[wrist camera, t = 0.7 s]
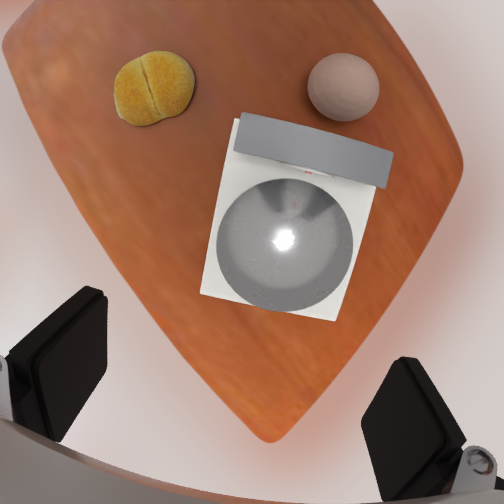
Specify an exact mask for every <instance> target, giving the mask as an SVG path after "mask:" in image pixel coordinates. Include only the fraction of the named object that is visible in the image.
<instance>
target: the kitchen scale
mask: <svg viewBox="0 0 504 504" xmlns="http://www.w3.org/2000/svg"><path fill="white" fill-rule="evenodd" d="M393 154H394V152H391V151H388V150H385V149H382V148H379V147H376V146H373V145H370V144H367V143H363V142H360V141H357V140H354V139H350V138H347V137H344V136H340V135H337V134H333V133H330V132H326V131H322V130H319V129H315V128H311V127H307V126H303V125H299V124H295V123H291V122H287V121H282V120H278V119H274V118H269V117H264V116H260V115H255V114H250V113H245V112H242V113H241V117H240V119H236V118H235V119H234V123H233V128H232V132H231V137H230V141H229V146H228V150H227V155H226V159H225V164H224V169H223V174H222V178H221V183H220V188H219V193H218V198H217V203H216V208H215V213H214V218H213V223H212V229H211V234H210V239H209V245H208V250H207V256H206V261H205V267H204V272H203V278H202V284H201V290H200V294H204V295H208V296H213V297H217V298H222V299H226V300H231V301H235V302H240V303H244V304H249V305H253V304H251V303H249V302H247V301H246V300H244V299H243V298H241V297H240V296H239V295H238V294H237V293H236V292H235V291H234V290H233V289H232V288H231V287H230V285H229V284H228V283H227V281H226V280H225V278H224V276H223V274H222V272H221V269H220V267H219V263H218V259H217V253H216V240H217V233H218V229H219V226H220V223H221V221H222V218H223V216H224V215H225V213H226V211H227V209H228V208H229V207H230V206H231V204H232V203H233V202H234V201H235V200H236V199H237V198H238V197H239V196H240V195H241V194H242V193H243V192H245V191H246V190H248V189H249V188H251V187H253V186H255V185H256V184H259V183H262V182H264V181H268V180H273V179H281V178H289V179H297V180H302V181H306V182H309V183H311V184H313V185H315V186H318V187H320V188H321V189H323V190H324V191H326V192H327V193H328V194H330V195H331V196H332V197H333V198H334V199H335V200H336V201H337V202H338V203H339V205H340V206H341V207H342V209H343V210H344V212H345V214H346V216H347V218H348V220H349V223H350V226H351V229H352V235H353V254H352V259H351V263H350V266H349V269H348V271H347V273H346V275H345V277H344V279H343V280H342V282H341V283H340V285H339V286H338V287H337V288H336V289H335V290H334V291H333V292H332V293H331V294H330V295H329V296H328V297H327V298H325V299H324V300H322V301H321V302H319V303H317V304H315V305H313V306H311V307H308V308H305V309H302V310H297V311H290V312H288V313H293V314H298V315H303V316H309V317H314V318H319V319H325V320H330V321H336V318H337V315H338V312H339V310H340V307H341V304H342V301H343V298H344V295H345V292H346V289H347V286H348V283H349V280H350V277H351V274H352V270H353V267H354V264H355V261H356V258H357V254H358V251H359V248H360V244H361V241H362V237H363V234H364V230H365V227H366V223H367V220H368V216H369V212H370V208H371V205H372V201H373V197H374V193H375V189H376V187H379V188H383V189H386V185H387V180H388V176H389V172H390V168H391V163H392V159H393ZM254 306H255V305H254Z"/></svg>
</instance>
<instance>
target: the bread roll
mask: <svg viewBox="0 0 504 504" xmlns="http://www.w3.org/2000/svg"><path fill="white" fill-rule="evenodd" d="M194 85H195V77H194V73H193V71H192V69H191V67H190V66H189V64H188V63H187V62H186V61H185V60H184V59H183V58H181V57H180V56H178V55H177V54H174V53H172V52H168V51H152V52H149V53H147V54H144V55H142V56H141V57H138V58H136V59H134V60H132V61H130V62H129V63H127V64H126V65H125V66H124V67H123V68H122V69H121V70H120V71H119V73H118V74H117V76H116V78H115V83H114V94H113V95H114V98H115V99H114V100H115V104H116V109H117V112H118V114H119V117H120V118H121V119H124V120H126V121H127V122H128V123H130V124H132V125H135V126H145V125H150V124H153V123H155V122H157V121H159V120H161V119H164V118H166V117H173V116H176V115H178V114H180V113H181V112H183V111H184V109H185V108H186V107H187V105H188V103H189V101H190V99H191V96H192V94H193V89H194Z"/></svg>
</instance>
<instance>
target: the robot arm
mask: <svg viewBox="0 0 504 504" xmlns="http://www.w3.org/2000/svg"><path fill="white" fill-rule="evenodd" d="M107 310H108V299H107V297H106V296H104V294H103V291H102V290H99V289H96V288H92V287H89V286H84V287H83V288H82V289H80V290H79V291H78V292H77V293H76V294H74V295H73V296H72V297H71V298H70V299H68V300H67V301H66V302H65V303H63V304H62V305H61V306H60V307H59V308H58V309H56V310H55V311H54V312H53V313H52V314H50V315H49V316H48V317H47V318H46V319H45V320H44V321H43V322H41V323H40V324H39V325H38V326H37V327H35V328H34V329H33V330H32V331H31V332H30V333H29V334H27V335H26V336H25V337H24V338H23V339H22V340H21V341H20V342H19V343H18V344H16V345H15V346H14V347H13V348H12V349H11V350H10V351H9V354H8V355H7V356H6V357H5V358H3V356H1V355H0V504H303V503H286V502H274V501H264V500H255V499H248V498H240V497H234V496H228V495H222V494H216V493H211V492H206V491H200V490H196V489H191V488H187V487H183V486H179V485H175V484H171V483H167V482H163V481H160V480H156V479H152V478H149V477H146V476H142V475H139V474H136V473H133V472H130V471H126V470H124V469H121V468H118V467H115V466H112V465H110V464H107V463H104V462H102V461H99V460H97V459H94V458H92V457H89V456H86V455H84V454H81V453H79V452H77V451H74V450H72V449H69V448H67V447H65V446H63V445H61V444H58V443H59V442H61V441H62V439H63V438H64V436H65V434H66V433H67V431H68V430H69V428H70V426H71V425H72V423H73V422H74V420H75V419H76V417H77V415H78V414H79V412H80V410H81V409H82V407H83V406H84V404H85V403H86V401H87V400H88V398H89V397H90V395H91V394H92V392H93V391H94V389H95V388H96V386H97V384H98V383H99V381H100V380H101V378H102V377H103V375H104V374H105V372H106V369H107V312H108V311H107ZM361 427H362V431H363V434H364V437H365V441H366V444H367V448H368V451H369V455H370V458H371V462H372V466H373V469H374V473H375V476H376V480H377V484H378V487H379V492H380V495H381V499H382V501H383V502H379V503H362V504H504V479H502V478H500V477H498V476H496V475H497V463H496V460H495V458H494V457H493V455H492V454H491V453H490V452H489V451H487V450H486V449H484V448H482V447H479V446H469V447H467V448H466V449H465V450H464V451H463V450H462V448H461V447H462V445H463V444H464V443H465V442H466V438H465V436H464V434H463V432H462V431H461V429H460V427H459V426H458V424H457V423H456V420H455V419H454V417H453V415H452V413H451V412H450V410H449V408H448V407H447V405H446V403H445V402H444V400H443V398H442V397H441V395H440V394H439V392H438V391H437V389H436V387H435V385H434V384H433V382H432V381H431V379H430V378H429V376H428V374H427V373H426V371H425V370H424V368H423V366H422V365H421V363H420V362H419V360H418V359H416V358H411V357H400V358H399V359H398V360H395V361H394V362H393V364H392V365H391V367H390V369H389V371H388V373H387V375H386V377H385V379H384V381H383V383H382V384H381V386H380V388H379V390H378V391H377V393H376V395H375V397H374V398H373V400H372V402H371V403H370V405H369V407H368V409H367V410H366V412H365V414H364V415H363V417H362V420H361ZM56 442H58V443H56Z"/></svg>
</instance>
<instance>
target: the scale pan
mask: <svg viewBox="0 0 504 504" xmlns="http://www.w3.org/2000/svg"><path fill="white" fill-rule="evenodd" d="M216 253H217V259H218V263H219V267H220V269H221V272H222V274H223V276H224V278H225V280H226V281H227V283H228V284H229V285H230V287H231V288H232V289H233V290H234V291H235V292H236V293H237V294H238V295H239V296H240V297H241V298H243V299H244V300H246V301H247V302H249V303H251V304H253V305H255V306H257V307H259V308H262V309H266V310H270V311H277V312H290V311H297V310H302V309H305V308H308V307H311V306H313V305H315V304H317V303H319V302H321V301H322V300H324V299H325V298H327V297H328V296H329V295H330V294H331V293H332V292H333V291H334V290H335V289H336V288H337V287H338V286H339V285H340V283H341V282H342V280H343V279H344V277H345V275H346V273H347V271H348V269H349V266H350V263H351V259H352V254H353V235H352V229H351V226H350V223H349V220H348V218H347V216H346V214H345V212H344V210H343V209H342V207H341V206H340V205H339V203H338V202H337V201H336V200H335V199H334V198H333V197H332V196H331V195H330V194H328V193H327V192H326V191H324V190H323V189H321V188H320V187H318V186H315V185H313V184H311V183H309V182H306V181H302V180H297V179H289V178H281V179H273V180H268V181H264V182H262V183H259V184H256V185H255V186H253V187H251V188H249V189H248V190H246V191H245V192H243V193H242V194H241V195H240V196H239V197H238V198H237V199H236V200H235V201H234V202H233V203H232V204H231V206H230V207H229V208H228V209H227V211H226V213H225V215H224V216H223V218H222V221H221V223H220V226H219V229H218V233H217V240H216Z"/></svg>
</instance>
